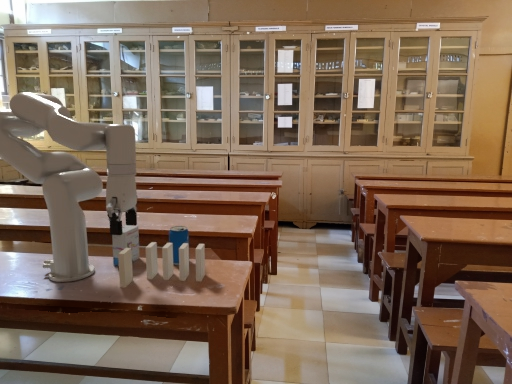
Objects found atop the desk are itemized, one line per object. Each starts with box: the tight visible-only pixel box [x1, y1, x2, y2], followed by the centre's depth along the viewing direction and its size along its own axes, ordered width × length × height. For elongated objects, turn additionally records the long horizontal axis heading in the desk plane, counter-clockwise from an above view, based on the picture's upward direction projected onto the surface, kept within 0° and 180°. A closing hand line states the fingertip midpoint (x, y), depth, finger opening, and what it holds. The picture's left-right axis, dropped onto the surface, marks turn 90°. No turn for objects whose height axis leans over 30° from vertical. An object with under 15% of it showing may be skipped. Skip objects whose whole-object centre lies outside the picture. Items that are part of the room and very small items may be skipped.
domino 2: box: [145, 241, 159, 280], centre depth 106 cm, size 2×5×10 cm, turn 176°
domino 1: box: [118, 248, 134, 288], centre depth 100 cm, size 2×5×10 cm, turn 176°
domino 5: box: [195, 243, 206, 282], centre depth 105 cm, size 2×5×10 cm, turn 176°
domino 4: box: [178, 242, 190, 282], centre depth 105 cm, size 2×5×10 cm, turn 176°
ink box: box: [111, 224, 140, 266], centre depth 117 cm, size 9×5×12 cm, turn 168°
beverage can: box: [168, 225, 190, 266], centre depth 117 cm, size 6×6×12 cm
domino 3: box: [161, 242, 174, 281], centre depth 106 cm, size 2×5×10 cm, turn 176°
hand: (124, 229), depth 99 cm, fingers open, 9 cm apart
